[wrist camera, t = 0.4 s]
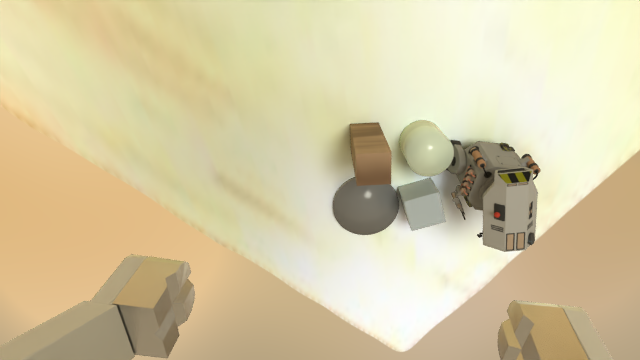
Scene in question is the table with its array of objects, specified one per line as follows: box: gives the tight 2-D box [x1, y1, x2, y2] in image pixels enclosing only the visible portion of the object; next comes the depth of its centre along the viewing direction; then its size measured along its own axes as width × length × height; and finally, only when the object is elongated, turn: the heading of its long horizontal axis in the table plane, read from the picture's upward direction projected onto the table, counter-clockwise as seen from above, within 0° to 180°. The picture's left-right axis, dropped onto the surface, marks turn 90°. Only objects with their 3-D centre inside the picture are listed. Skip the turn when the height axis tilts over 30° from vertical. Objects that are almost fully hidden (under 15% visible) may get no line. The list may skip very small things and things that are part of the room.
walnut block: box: [350, 123, 391, 186], centre depth 50 cm, size 4×4×12 cm
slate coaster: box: [333, 177, 399, 235], centre depth 60 cm, size 10×10×1 cm
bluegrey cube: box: [398, 178, 446, 231], centre depth 57 cm, size 5×5×5 cm
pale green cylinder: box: [399, 120, 454, 176], centre depth 53 cm, size 6×6×6 cm
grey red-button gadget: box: [446, 140, 540, 252], centre depth 51 cm, size 9×12×15 cm
